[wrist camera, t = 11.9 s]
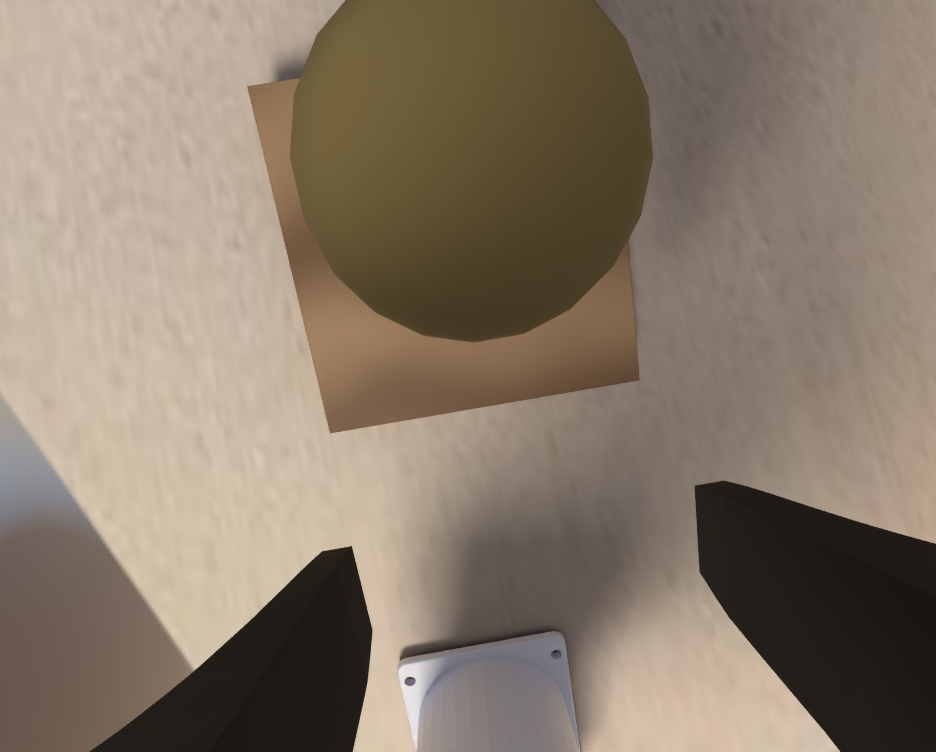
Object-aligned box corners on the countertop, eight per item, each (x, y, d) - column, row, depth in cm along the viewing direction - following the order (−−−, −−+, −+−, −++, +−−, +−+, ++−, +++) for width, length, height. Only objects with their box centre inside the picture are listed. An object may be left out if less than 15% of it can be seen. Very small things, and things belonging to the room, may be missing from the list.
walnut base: (619, 370, 19) (639, 380, 17) (341, 417, 19) (330, 433, 17) (590, 58, 17) (609, 29, 15) (270, 109, 17) (247, 86, 15)
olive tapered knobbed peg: (395, 115, 15) (277, -293, 4) (564, 175, 16) (821, -53, 5) (350, 291, 16) (165, 310, 5) (509, 340, 17) (625, 443, 6)
